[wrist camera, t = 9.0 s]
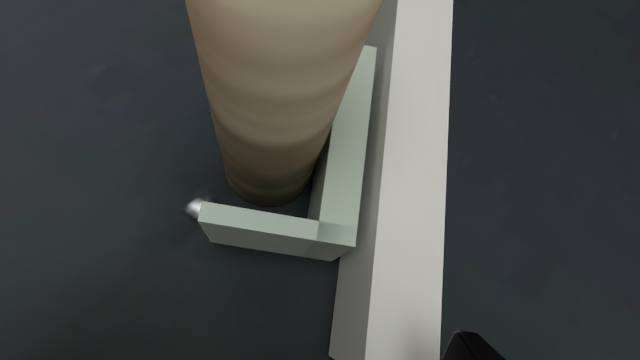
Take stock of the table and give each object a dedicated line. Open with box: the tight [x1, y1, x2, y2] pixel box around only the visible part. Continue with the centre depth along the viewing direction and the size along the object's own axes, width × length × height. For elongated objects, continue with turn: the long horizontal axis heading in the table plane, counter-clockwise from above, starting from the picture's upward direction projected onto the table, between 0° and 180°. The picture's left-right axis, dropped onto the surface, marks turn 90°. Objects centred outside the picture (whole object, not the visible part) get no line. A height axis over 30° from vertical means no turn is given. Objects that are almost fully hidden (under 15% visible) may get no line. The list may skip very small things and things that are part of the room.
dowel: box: [185, 0, 382, 207], centre depth 11 cm, size 4×4×13 cm
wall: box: [328, 0, 453, 360], centre depth 15 cm, size 2×14×5 cm, turn 172°
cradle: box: [198, 45, 377, 261], centre depth 15 cm, size 5×7×4 cm, turn 172°
